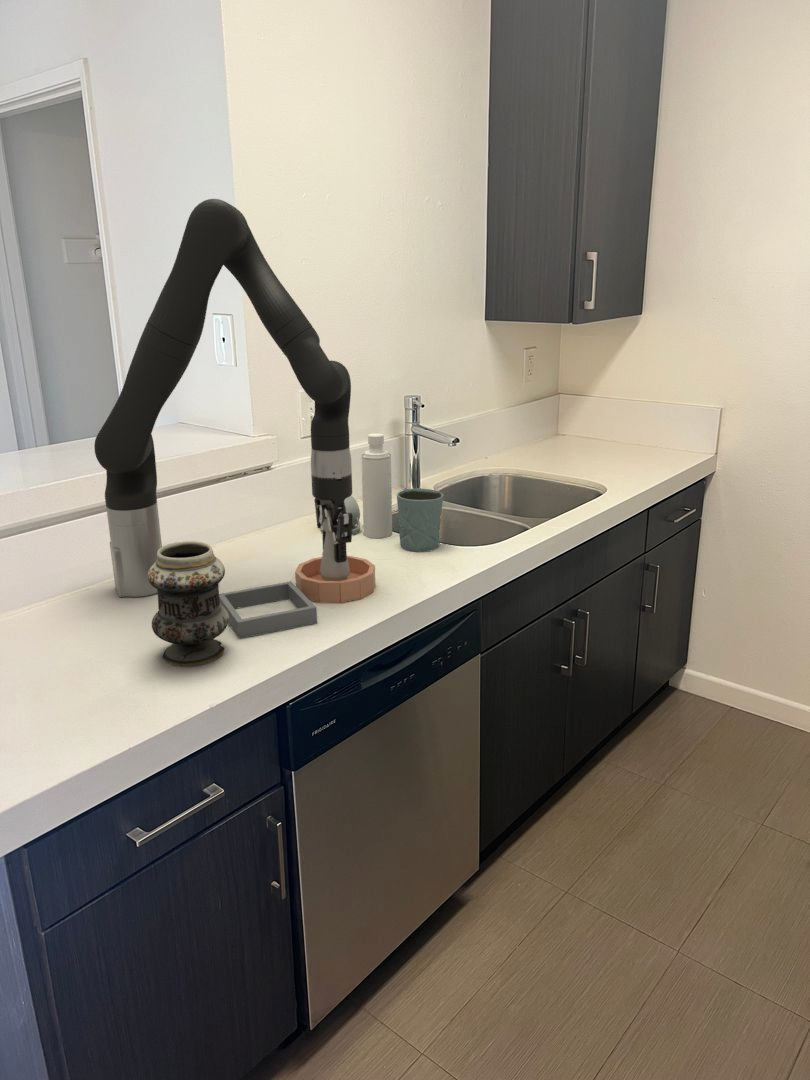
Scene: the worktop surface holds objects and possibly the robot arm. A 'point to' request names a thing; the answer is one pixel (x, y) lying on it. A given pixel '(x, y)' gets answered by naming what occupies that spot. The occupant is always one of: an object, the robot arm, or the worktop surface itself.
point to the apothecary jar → (188, 603)
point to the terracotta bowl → (336, 591)
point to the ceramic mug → (353, 512)
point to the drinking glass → (419, 519)
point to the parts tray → (268, 622)
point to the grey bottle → (376, 489)
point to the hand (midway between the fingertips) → (334, 556)
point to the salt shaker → (332, 559)
